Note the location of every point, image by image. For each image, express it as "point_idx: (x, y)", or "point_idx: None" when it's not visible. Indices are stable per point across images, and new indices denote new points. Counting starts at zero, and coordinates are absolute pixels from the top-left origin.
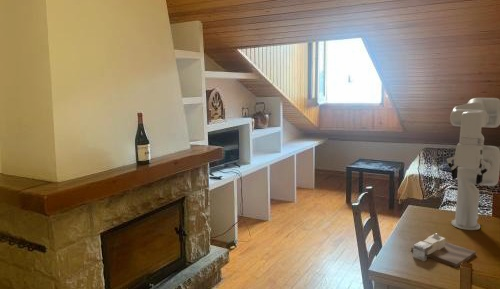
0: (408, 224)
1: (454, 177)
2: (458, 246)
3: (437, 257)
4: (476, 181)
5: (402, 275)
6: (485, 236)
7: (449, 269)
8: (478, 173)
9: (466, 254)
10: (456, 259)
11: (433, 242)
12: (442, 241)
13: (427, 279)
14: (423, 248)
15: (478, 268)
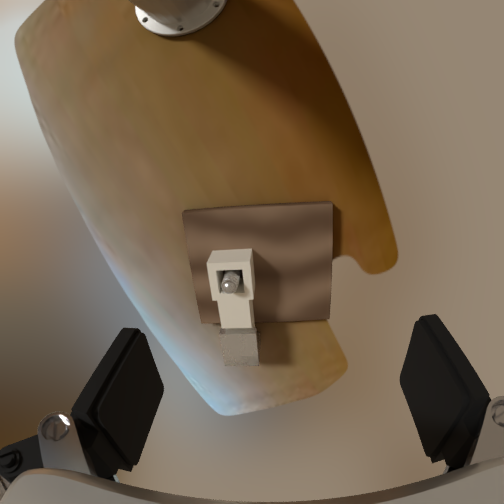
0: (72, 157)
1: (156, 394)
2: (278, 210)
3: (277, 320)
4: (408, 397)
5: (267, 403)
6: (274, 24)
7: (319, 329)
8: (448, 468)
9: (322, 247)
10: (317, 298)
11: (247, 319)
12: (252, 275)
13: (306, 387)
14: (254, 365)
15: (366, 272)
